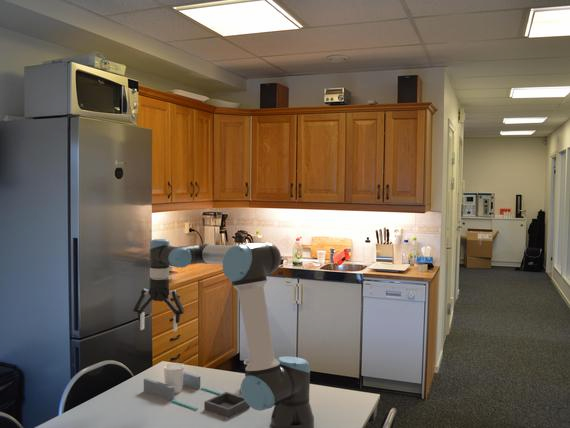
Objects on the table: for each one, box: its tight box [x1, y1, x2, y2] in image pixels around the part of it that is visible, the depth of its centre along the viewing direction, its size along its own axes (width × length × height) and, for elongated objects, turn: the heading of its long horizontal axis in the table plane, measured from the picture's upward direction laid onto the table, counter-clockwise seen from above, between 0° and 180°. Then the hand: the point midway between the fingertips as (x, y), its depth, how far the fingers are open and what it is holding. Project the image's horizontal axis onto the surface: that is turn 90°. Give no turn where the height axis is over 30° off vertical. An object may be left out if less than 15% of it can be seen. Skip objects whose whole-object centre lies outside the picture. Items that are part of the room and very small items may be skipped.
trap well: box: [203, 391, 251, 419], centre depth 198 cm, size 12×12×3 cm
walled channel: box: [143, 371, 201, 402], centre depth 215 cm, size 16×16×5 cm
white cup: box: [163, 362, 185, 394], centre depth 214 cm, size 8×8×10 cm
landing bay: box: [171, 386, 222, 411], centre depth 206 cm, size 13×17×1 cm
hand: (158, 330), depth 213 cm, fingers open, 13 cm apart
